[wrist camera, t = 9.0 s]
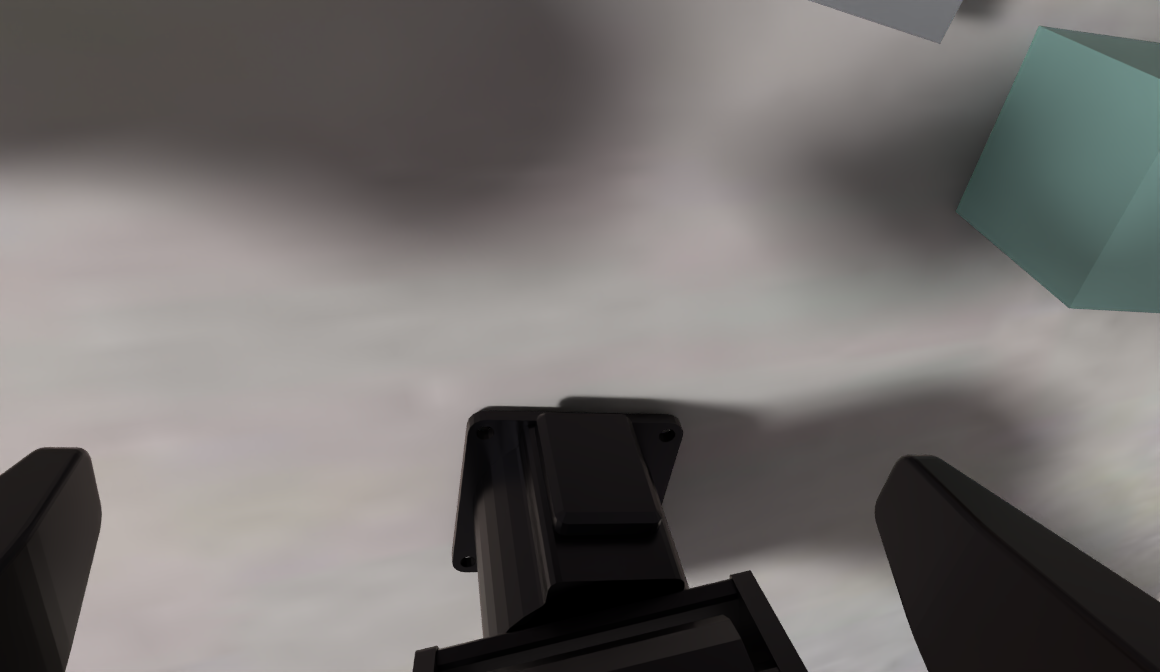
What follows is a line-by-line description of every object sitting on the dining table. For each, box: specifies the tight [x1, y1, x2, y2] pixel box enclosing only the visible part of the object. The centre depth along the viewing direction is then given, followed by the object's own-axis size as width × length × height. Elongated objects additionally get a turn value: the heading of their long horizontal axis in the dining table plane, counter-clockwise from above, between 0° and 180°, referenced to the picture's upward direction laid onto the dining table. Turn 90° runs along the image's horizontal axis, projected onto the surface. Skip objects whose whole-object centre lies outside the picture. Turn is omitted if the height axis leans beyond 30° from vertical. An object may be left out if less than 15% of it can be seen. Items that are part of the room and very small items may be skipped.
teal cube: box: [956, 26, 1160, 313], centre depth 20 cm, size 5×5×5 cm
